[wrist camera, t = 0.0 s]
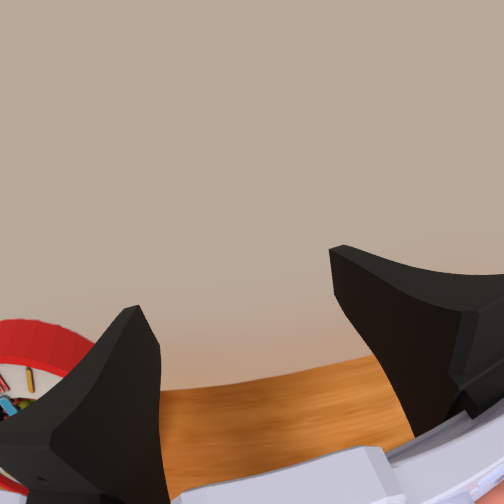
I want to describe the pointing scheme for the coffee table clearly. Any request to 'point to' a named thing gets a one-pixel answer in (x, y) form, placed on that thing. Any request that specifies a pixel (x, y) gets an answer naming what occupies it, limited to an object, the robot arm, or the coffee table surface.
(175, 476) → the coffee table surface
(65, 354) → the toy clock
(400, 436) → the coffee table surface
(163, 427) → the coffee table surface
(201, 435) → the coffee table surface
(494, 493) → the dome button
